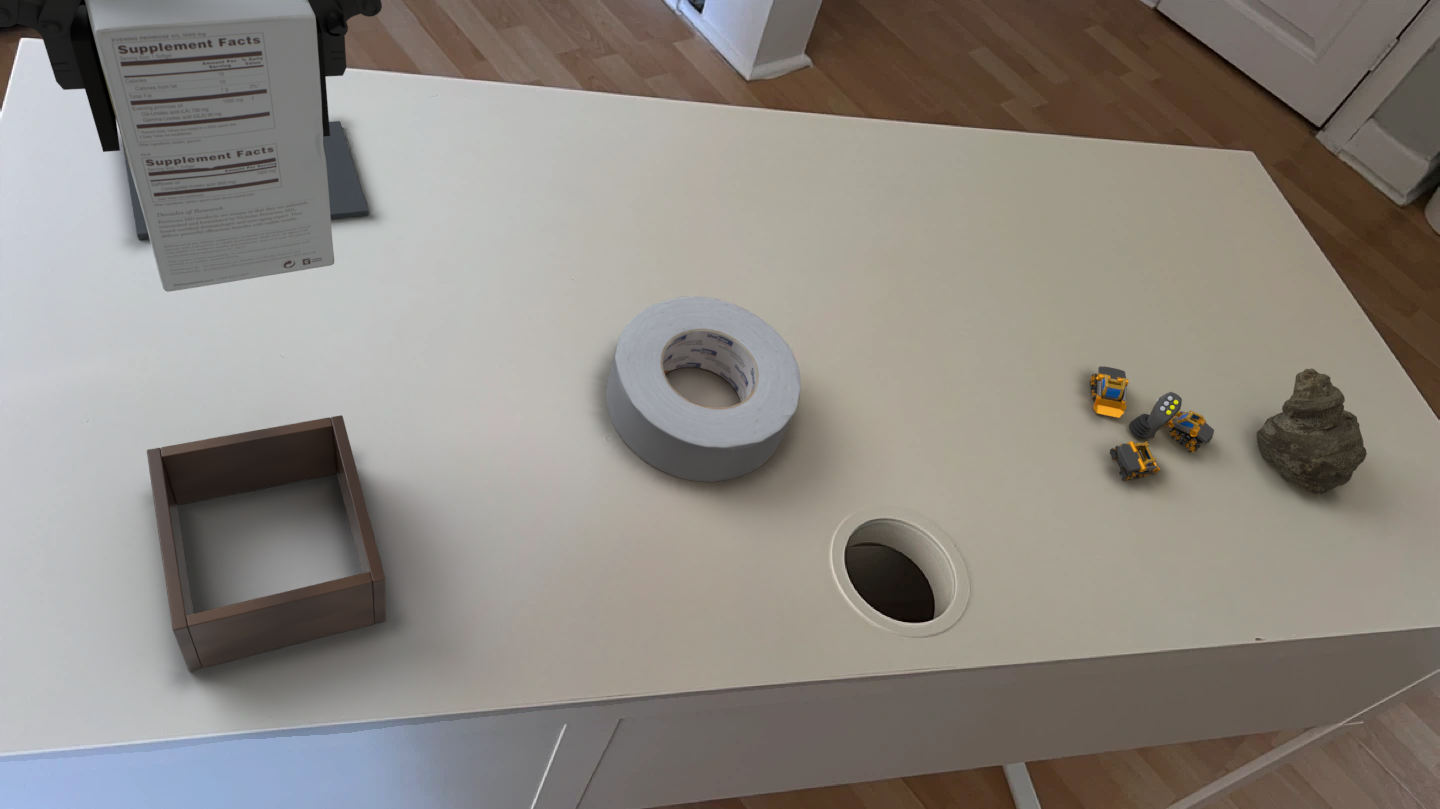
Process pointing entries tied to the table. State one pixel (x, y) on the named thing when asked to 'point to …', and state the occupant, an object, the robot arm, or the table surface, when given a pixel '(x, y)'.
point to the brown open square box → (246, 468)
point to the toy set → (1145, 423)
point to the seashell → (1313, 436)
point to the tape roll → (684, 429)
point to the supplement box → (220, 133)
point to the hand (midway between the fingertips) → (217, 126)
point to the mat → (340, 176)
